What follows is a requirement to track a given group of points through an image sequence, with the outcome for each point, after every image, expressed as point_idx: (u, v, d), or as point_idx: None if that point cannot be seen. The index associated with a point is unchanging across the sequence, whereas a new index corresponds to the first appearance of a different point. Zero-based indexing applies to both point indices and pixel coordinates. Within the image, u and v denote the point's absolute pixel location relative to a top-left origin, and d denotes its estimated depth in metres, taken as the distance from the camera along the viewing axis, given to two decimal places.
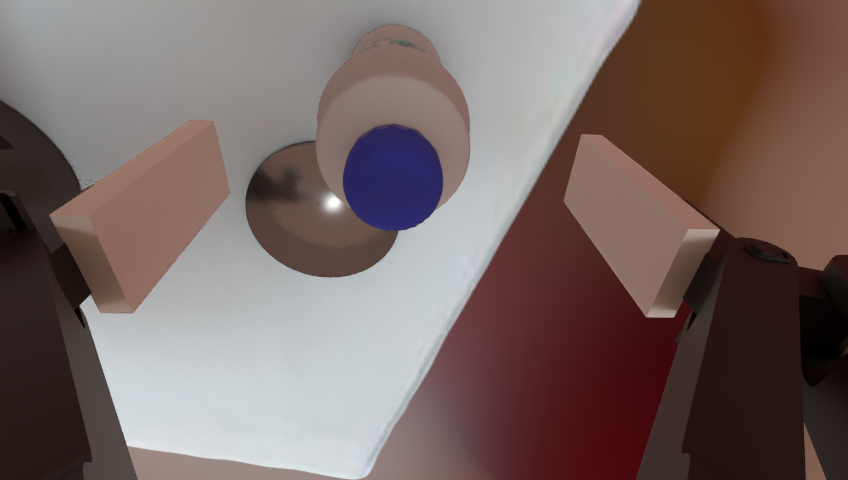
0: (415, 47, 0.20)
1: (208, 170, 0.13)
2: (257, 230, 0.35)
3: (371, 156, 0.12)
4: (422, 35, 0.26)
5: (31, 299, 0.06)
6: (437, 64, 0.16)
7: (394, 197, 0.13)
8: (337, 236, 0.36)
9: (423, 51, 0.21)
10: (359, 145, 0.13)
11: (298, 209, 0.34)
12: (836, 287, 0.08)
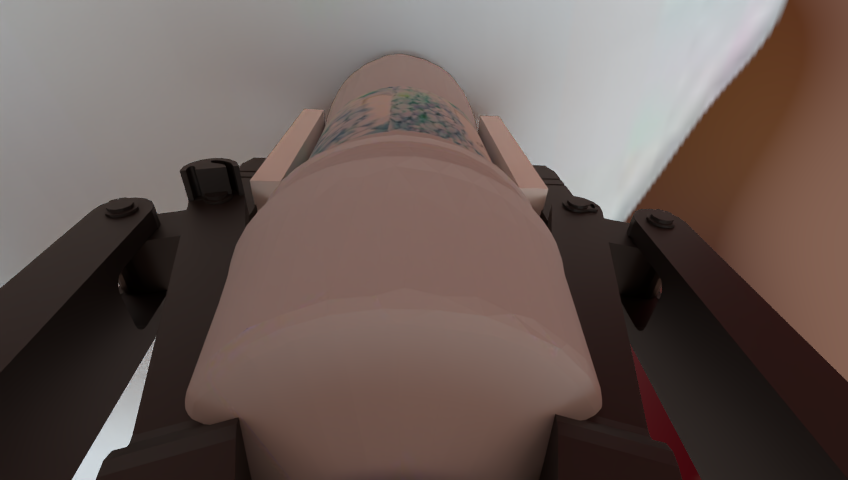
0: (440, 112, 0.11)
1: None
2: None
3: None
4: (445, 72, 0.16)
5: (230, 255, 0.08)
6: (506, 193, 0.07)
7: None
8: None
9: (455, 118, 0.11)
10: None
11: None
12: (641, 240, 0.09)
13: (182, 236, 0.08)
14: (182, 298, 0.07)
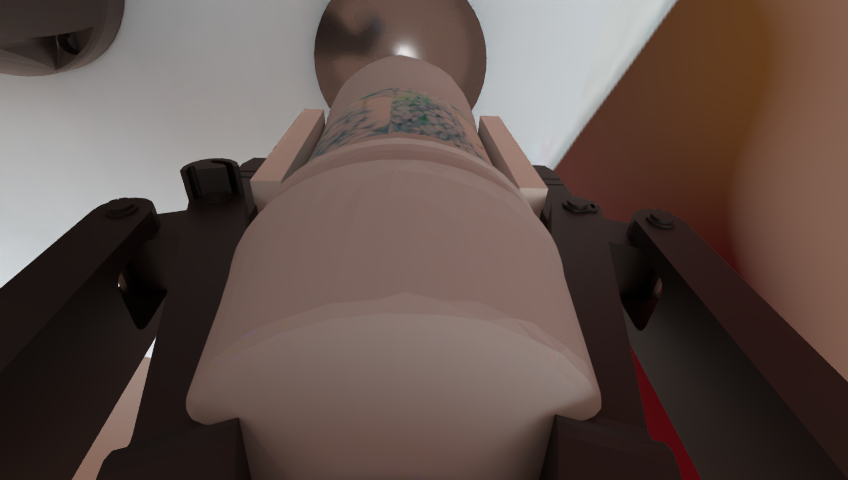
0: (440, 114, 0.11)
1: None
2: (322, 73, 0.31)
3: None
4: (445, 73, 0.16)
5: (230, 255, 0.08)
6: (506, 196, 0.07)
7: None
8: None
9: (455, 120, 0.11)
10: None
11: (375, 51, 0.30)
12: (641, 240, 0.09)
13: (182, 236, 0.08)
14: (182, 298, 0.07)
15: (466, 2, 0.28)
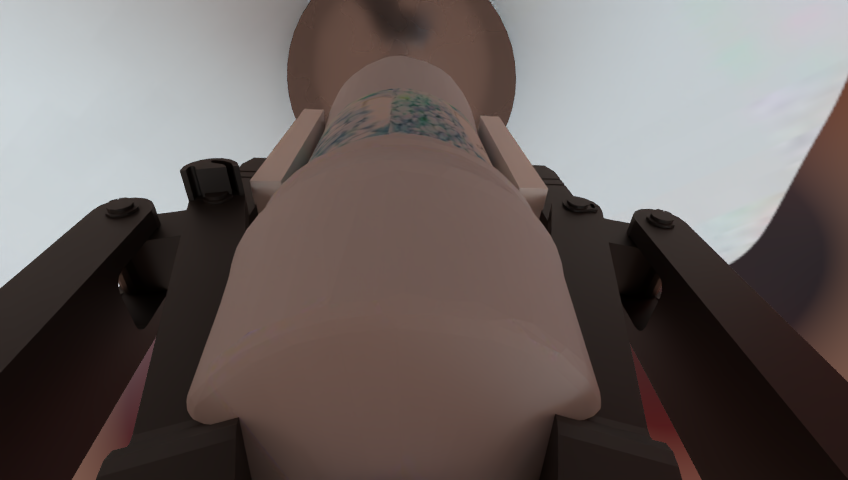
0: (440, 114, 0.11)
1: None
2: None
3: None
4: (445, 74, 0.16)
5: (230, 254, 0.08)
6: (506, 196, 0.07)
7: None
8: None
9: (455, 120, 0.11)
10: None
11: (401, 51, 0.22)
12: (641, 240, 0.09)
13: (182, 236, 0.08)
14: (182, 298, 0.07)
15: (505, 123, 0.24)
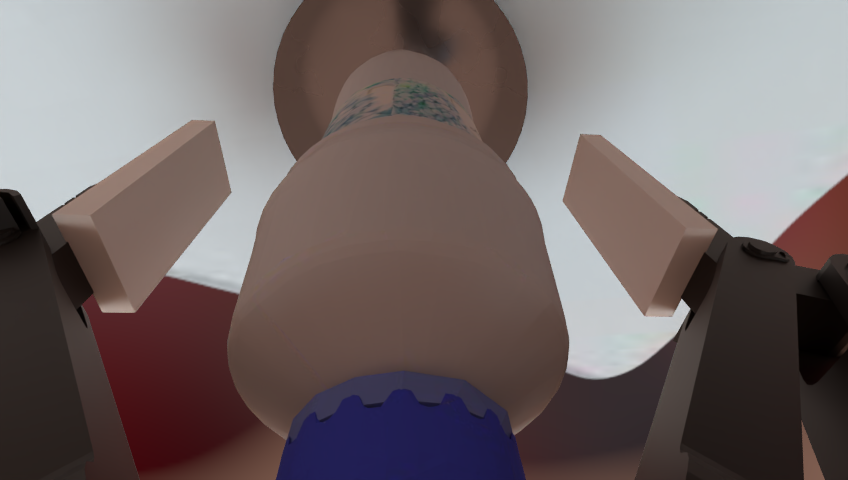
0: (437, 100, 0.12)
1: (209, 170, 0.13)
2: None
3: None
4: (443, 66, 0.17)
5: (34, 299, 0.06)
6: (491, 163, 0.08)
7: None
8: None
9: (451, 106, 0.12)
10: (306, 477, 0.04)
11: None
12: (834, 286, 0.08)
13: None
14: None
15: None
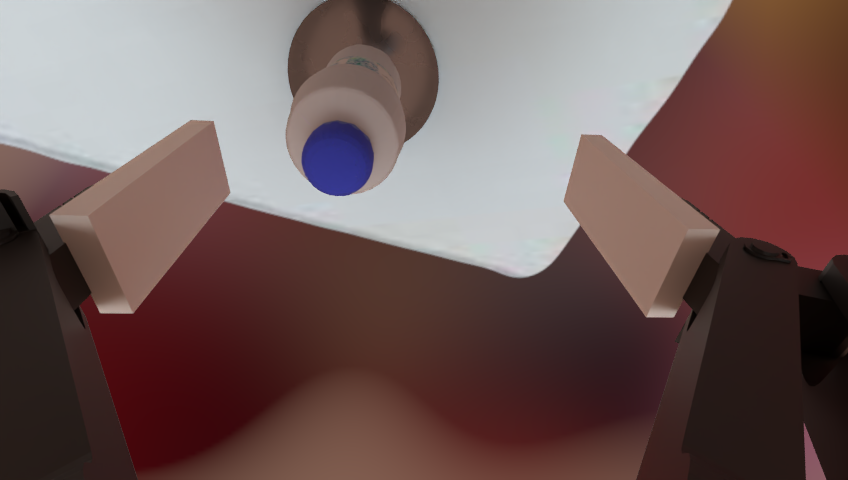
0: (367, 63, 0.26)
1: (208, 170, 0.13)
2: (342, 3, 0.32)
3: (317, 142, 0.18)
4: (381, 52, 0.32)
5: (31, 299, 0.06)
6: (375, 76, 0.22)
7: (335, 170, 0.18)
8: None
9: (374, 66, 0.26)
10: (311, 135, 0.19)
11: None
12: (836, 287, 0.08)
13: None
14: None
15: (420, 126, 0.38)
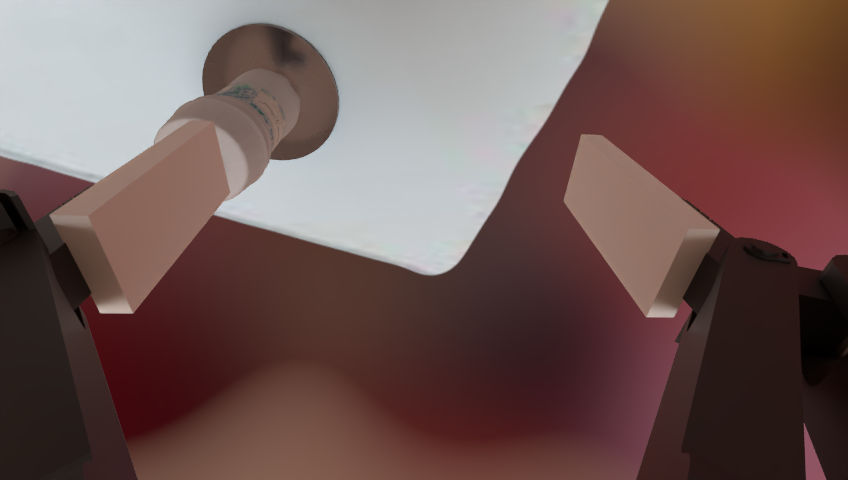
0: (247, 91, 0.31)
1: (208, 170, 0.13)
2: (246, 32, 0.37)
3: None
4: (278, 76, 0.37)
5: (31, 299, 0.06)
6: (234, 108, 0.27)
7: None
8: None
9: (254, 93, 0.31)
10: None
11: None
12: (836, 287, 0.08)
13: None
14: None
15: (325, 139, 0.43)
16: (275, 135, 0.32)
